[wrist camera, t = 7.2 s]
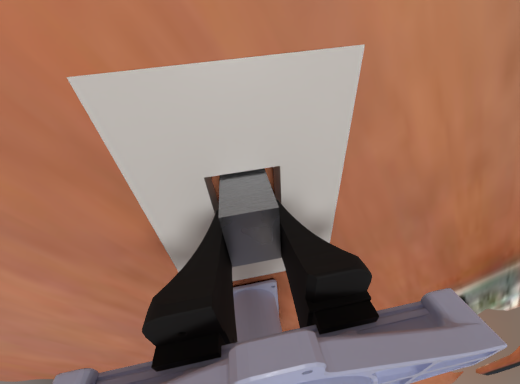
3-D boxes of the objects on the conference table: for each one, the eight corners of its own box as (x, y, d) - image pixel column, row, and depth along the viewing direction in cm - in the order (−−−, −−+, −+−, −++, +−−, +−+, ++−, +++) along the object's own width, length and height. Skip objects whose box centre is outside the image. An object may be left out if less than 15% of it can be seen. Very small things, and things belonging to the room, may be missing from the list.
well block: (316, 243, 22) (326, 262, 20) (192, 267, 21) (189, 289, 19) (339, 47, 12) (364, 44, 10) (96, 73, 11) (66, 77, 9)
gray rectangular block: (264, 200, 17) (281, 257, 12) (229, 206, 16) (232, 267, 12) (260, 157, 14) (279, 207, 10) (220, 163, 14) (218, 218, 9)
